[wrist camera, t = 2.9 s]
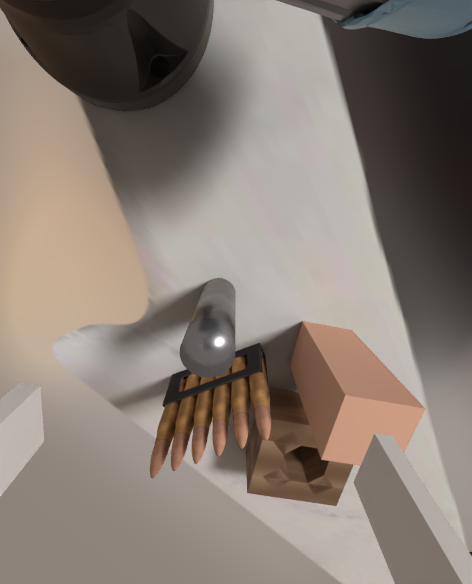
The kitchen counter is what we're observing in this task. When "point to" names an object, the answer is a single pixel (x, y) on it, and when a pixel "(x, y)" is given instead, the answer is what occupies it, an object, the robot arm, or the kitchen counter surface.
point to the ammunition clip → (213, 408)
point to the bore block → (292, 457)
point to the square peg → (349, 394)
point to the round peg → (211, 331)
